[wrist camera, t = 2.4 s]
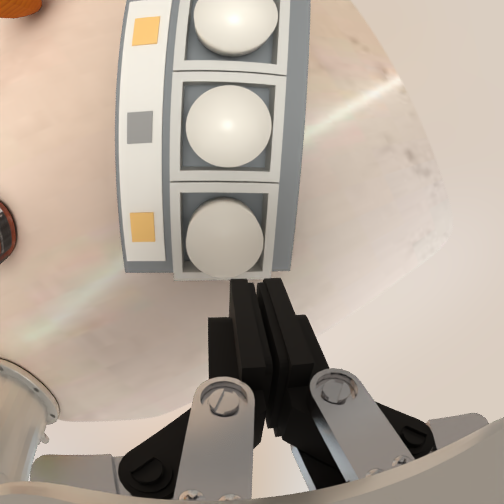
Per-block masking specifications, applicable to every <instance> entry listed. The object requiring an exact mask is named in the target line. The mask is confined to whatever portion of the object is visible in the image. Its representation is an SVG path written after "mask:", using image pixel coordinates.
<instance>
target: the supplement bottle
mask: <svg viewBox="0 0 504 504" xmlns="http://www.w3.org/2000/svg"><path fill="white" fill-rule="evenodd" d="M15 240H16V233H15V226H14V222H13V219H12V217H11V215H10V213H9V211H8V210H7V208H6V207H5V206H4V205H3V204H2V203H1V202H0V264H1V263H2V262H3V261H4V260H5V259H7V257H8V256H9V255H10V254H11V252H12V251H13V248H14V245H15Z"/></svg>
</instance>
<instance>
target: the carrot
mask: <svg viewBox="0 0 504 504" xmlns="http://www.w3.org/2000/svg"><path fill="white" fill-rule="evenodd" d="M41 6H42V0H0V18H18V17H24V16H27V15H30V14H33V13H35V12H37V11H39V9H40V8H41Z"/></svg>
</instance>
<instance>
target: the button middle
mask: <svg viewBox="0 0 504 504" xmlns="http://www.w3.org/2000/svg"><path fill="white" fill-rule="evenodd" d="M186 134H187V138H188V141H189V143H190V146H191V147H192V149H193V150H194V152H195V153H196V154H197V155H198V156H199V157H200V158H201V159H203V160H204V161H206V162H208V163H210V164H212V165H215V166H219V167H237V166H241V165H244V164H246V163H248V162H250V161H252V160H253V159H255V158H256V157H257V156H258V155H259V154H260V153H261V152H262V151H263V150H264V148H265V147H266V145H267V143H268V141H269V138H270V134H271V117H270V113H269V111H268V108H267V106H266V105H265V103H264V102H263V101H262V99H261V98H260V97H259V96H258V95H256V94H255V93H254V92H252V91H250V90H249V89H246V88H244V87H240V86H235V85H224V86H218V87H215V88H212V89H210V90H208V91H206V92H205V93H203V94H202V95H201V96H200V97H199V98H198V99H197V100H196V101H195V102H194V103H193V105H192V106H191V108H190V110H189V113H188V115H187V120H186Z"/></svg>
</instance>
